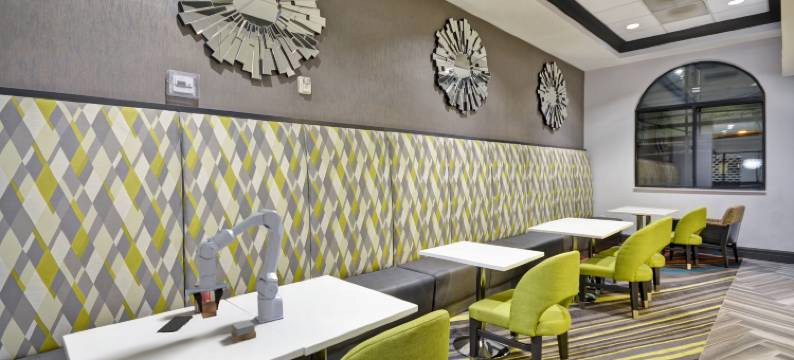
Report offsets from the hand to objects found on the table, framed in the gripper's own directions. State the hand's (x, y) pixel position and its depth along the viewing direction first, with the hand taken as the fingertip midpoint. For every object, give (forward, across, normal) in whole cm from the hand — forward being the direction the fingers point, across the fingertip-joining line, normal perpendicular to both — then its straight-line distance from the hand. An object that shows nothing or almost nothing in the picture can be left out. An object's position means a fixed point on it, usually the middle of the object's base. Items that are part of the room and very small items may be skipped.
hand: (208, 311), depth 145 cm
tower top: (+7, +10, -10) cm, 15 cm away
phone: (+9, -9, +18) cm, 22 cm away
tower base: (+9, +10, -10) cm, 17 cm away
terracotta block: (+2, 0, 0) cm, 2 cm away
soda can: (+9, +2, +28) cm, 30 cm away
